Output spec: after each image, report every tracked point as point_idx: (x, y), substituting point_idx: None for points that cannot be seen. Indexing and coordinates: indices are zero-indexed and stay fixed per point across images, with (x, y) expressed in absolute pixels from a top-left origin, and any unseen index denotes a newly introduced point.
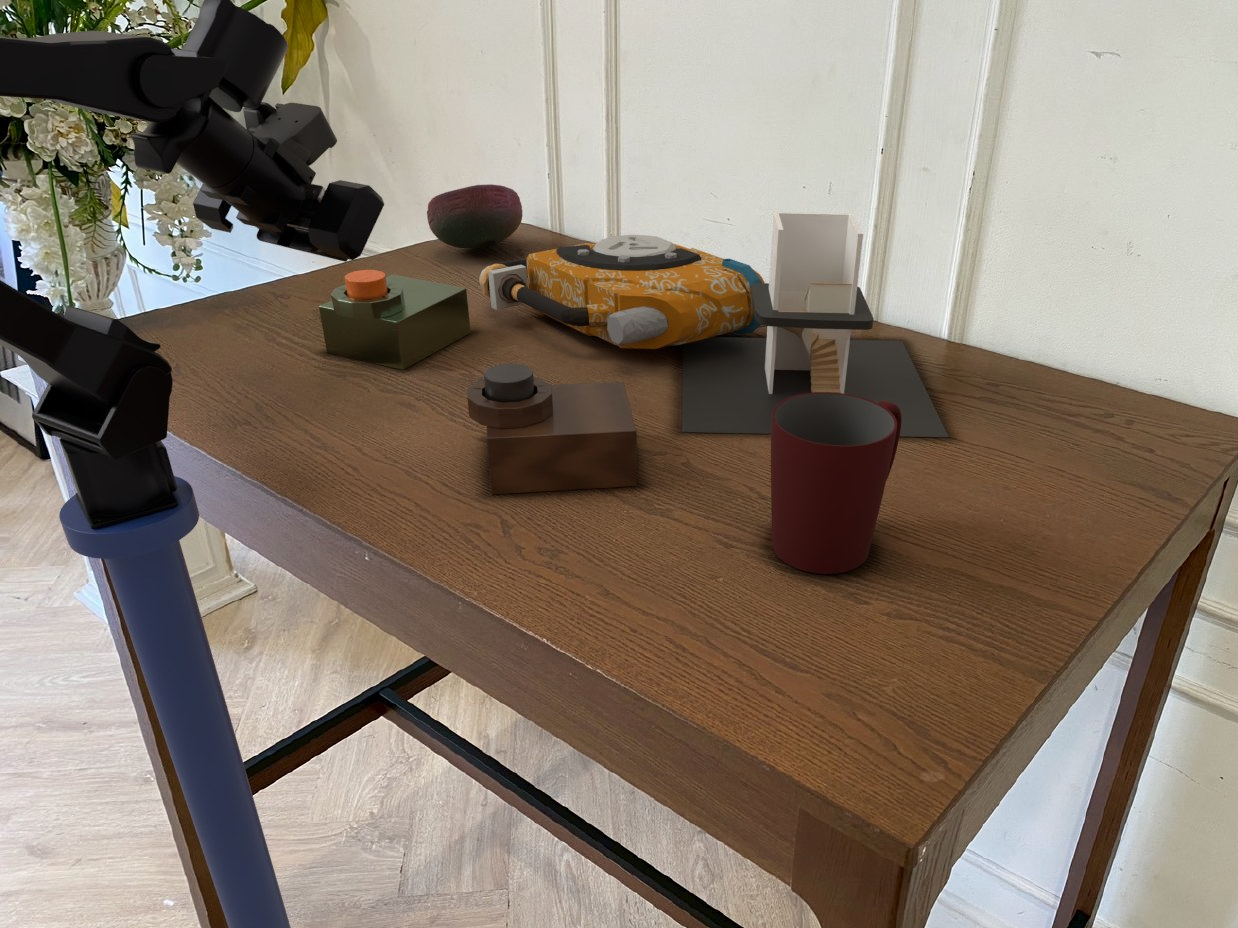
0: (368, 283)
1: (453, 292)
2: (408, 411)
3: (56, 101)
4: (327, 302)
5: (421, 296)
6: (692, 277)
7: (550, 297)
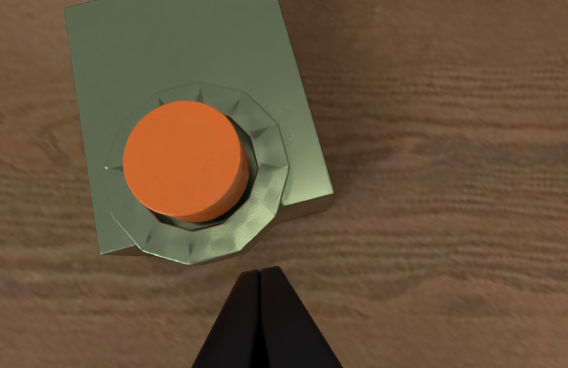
0: (235, 184)
1: None
2: (493, 322)
3: None
4: (97, 225)
5: (234, 52)
6: None
7: None
